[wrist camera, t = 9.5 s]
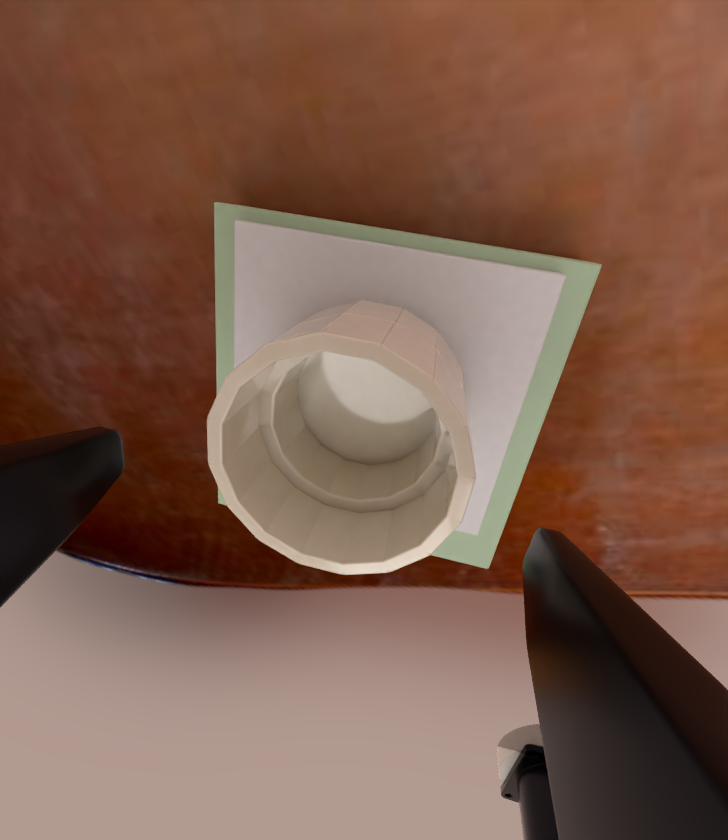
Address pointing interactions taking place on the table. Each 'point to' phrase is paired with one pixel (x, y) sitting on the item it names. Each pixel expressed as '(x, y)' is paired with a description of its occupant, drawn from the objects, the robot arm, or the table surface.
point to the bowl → (347, 440)
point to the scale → (431, 302)
